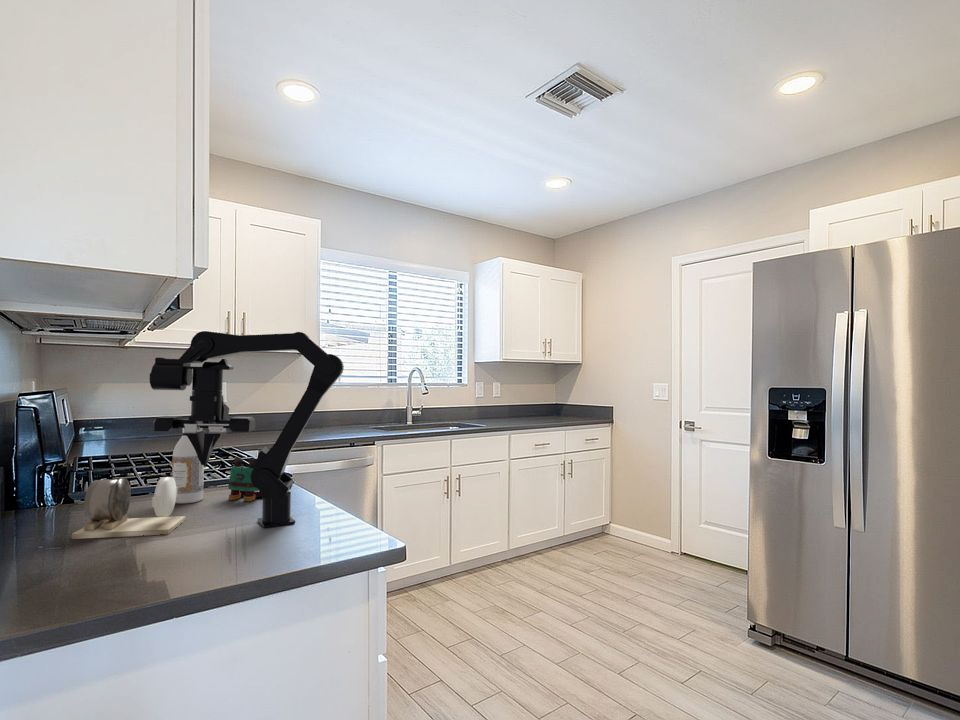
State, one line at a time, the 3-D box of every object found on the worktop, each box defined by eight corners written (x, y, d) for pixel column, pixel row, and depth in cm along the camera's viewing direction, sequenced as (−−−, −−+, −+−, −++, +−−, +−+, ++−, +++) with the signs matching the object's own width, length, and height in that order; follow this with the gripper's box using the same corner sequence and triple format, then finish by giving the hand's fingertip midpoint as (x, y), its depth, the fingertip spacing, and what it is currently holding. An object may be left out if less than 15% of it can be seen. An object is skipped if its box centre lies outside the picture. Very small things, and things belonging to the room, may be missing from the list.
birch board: (185, 520, 116) (185, 510, 116) (168, 534, 106) (168, 523, 106) (97, 524, 112) (97, 514, 112) (71, 539, 102) (71, 527, 102)
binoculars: (279, 457, 142) (253, 459, 133) (275, 498, 141) (249, 502, 132) (251, 455, 145) (224, 457, 136) (248, 495, 144) (220, 499, 134)
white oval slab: (177, 510, 115) (178, 473, 116) (160, 522, 106) (161, 481, 106) (168, 510, 115) (169, 473, 115) (151, 522, 106) (152, 482, 106)
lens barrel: (130, 514, 113) (131, 474, 113) (111, 525, 105) (112, 482, 105) (103, 515, 112) (104, 475, 112) (82, 527, 104) (84, 483, 104)
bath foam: (164, 503, 131) (166, 422, 131) (184, 497, 138) (186, 419, 138) (190, 504, 130) (192, 422, 130) (209, 498, 137) (210, 420, 137)
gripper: (262, 390, 122) (260, 458, 122) (175, 388, 119) (172, 458, 119) (249, 392, 111) (246, 467, 111) (153, 390, 108) (149, 467, 108)
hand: (204, 464), depth 112 cm, fingers closed
